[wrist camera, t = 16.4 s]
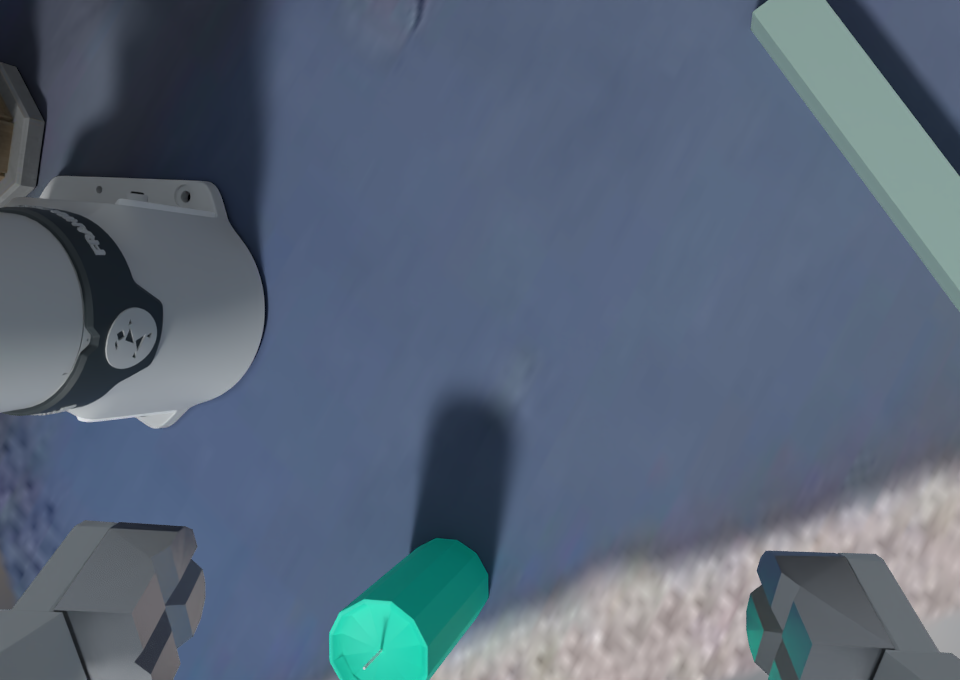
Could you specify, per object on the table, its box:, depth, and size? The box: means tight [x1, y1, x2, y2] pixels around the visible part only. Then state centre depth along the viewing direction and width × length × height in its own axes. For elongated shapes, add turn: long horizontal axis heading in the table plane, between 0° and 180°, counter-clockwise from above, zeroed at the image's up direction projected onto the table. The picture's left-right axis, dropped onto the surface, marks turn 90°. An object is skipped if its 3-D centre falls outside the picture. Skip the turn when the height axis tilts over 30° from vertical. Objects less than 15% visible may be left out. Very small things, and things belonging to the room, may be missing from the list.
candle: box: [329, 538, 489, 680], centre depth 43 cm, size 6×6×12 cm
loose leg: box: [751, 0, 960, 312], centre depth 38 cm, size 22×3×3 cm, turn 34°
